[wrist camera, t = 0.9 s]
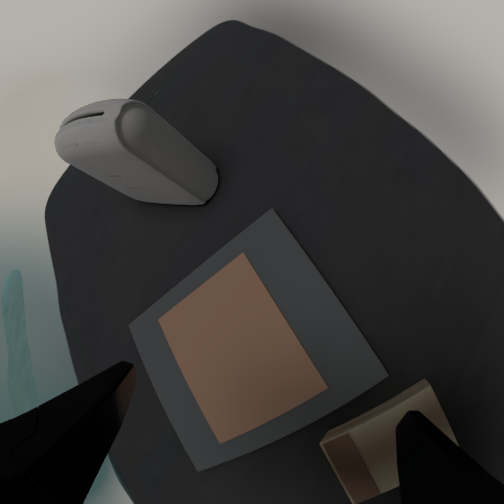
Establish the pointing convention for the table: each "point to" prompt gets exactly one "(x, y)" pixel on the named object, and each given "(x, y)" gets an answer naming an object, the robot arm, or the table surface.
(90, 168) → the grey rounded block
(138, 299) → the table surface
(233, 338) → the rubber mat
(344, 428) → the tan beveled box
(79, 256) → the table surface
